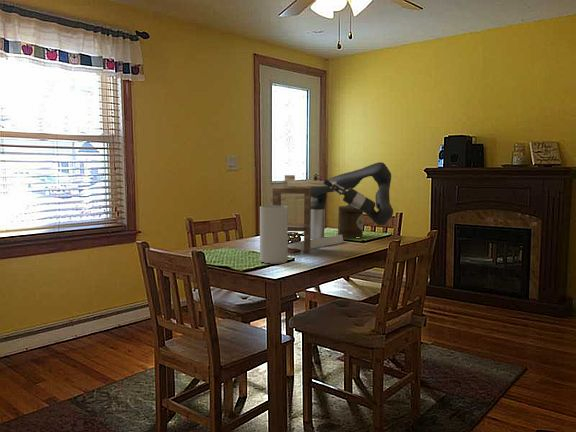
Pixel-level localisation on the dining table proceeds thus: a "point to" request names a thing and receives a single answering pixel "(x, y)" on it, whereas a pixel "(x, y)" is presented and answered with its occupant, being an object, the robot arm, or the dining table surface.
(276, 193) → the walnut rack
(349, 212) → the wooden container
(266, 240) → the cylinder vase
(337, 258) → the dining table surface
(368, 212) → the robot arm
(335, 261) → the dining table surface
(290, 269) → the dining table surface
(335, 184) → the birch slat
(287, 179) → the offcut stack
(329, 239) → the decorative molding
